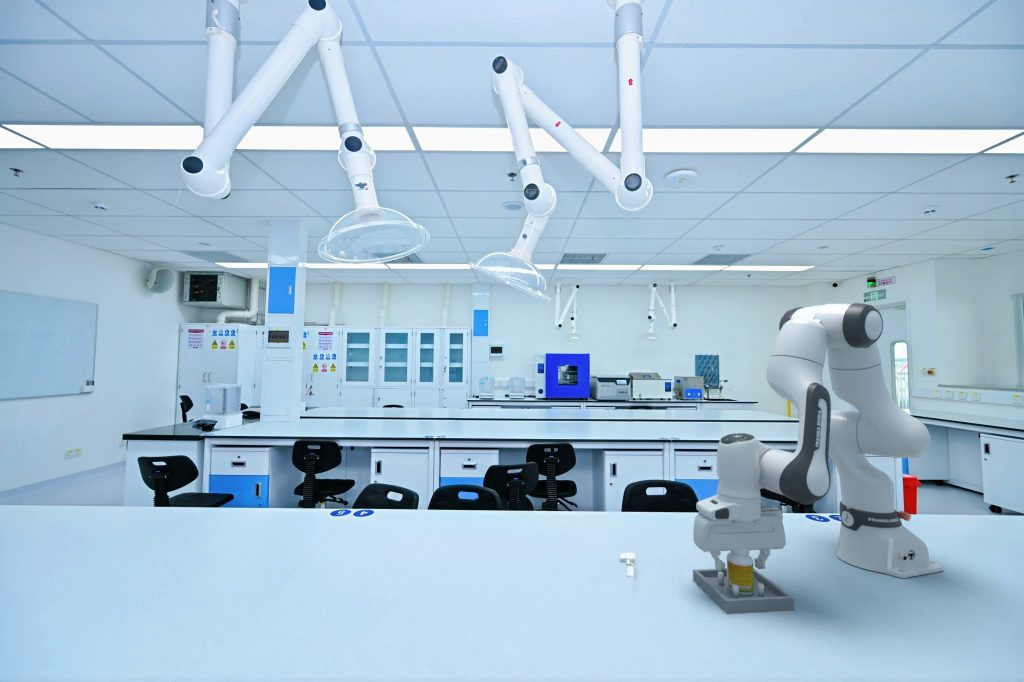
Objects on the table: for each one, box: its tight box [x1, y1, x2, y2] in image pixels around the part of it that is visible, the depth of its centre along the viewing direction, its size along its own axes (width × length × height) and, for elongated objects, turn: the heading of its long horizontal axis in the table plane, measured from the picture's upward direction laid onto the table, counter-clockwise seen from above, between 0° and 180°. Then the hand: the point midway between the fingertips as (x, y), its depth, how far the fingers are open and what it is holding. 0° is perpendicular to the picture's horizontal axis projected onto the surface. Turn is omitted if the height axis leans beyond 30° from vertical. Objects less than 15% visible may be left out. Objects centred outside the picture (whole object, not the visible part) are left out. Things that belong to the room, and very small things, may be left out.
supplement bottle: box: [726, 549, 754, 595], centre depth 100 cm, size 5×5×10 cm
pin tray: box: [692, 567, 795, 614], centre depth 99 cm, size 15×14×4 cm
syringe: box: [619, 551, 637, 578], centre depth 110 cm, size 20×5×2 cm, turn 170°
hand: (740, 568), depth 100 cm, fingers open, 8 cm apart
